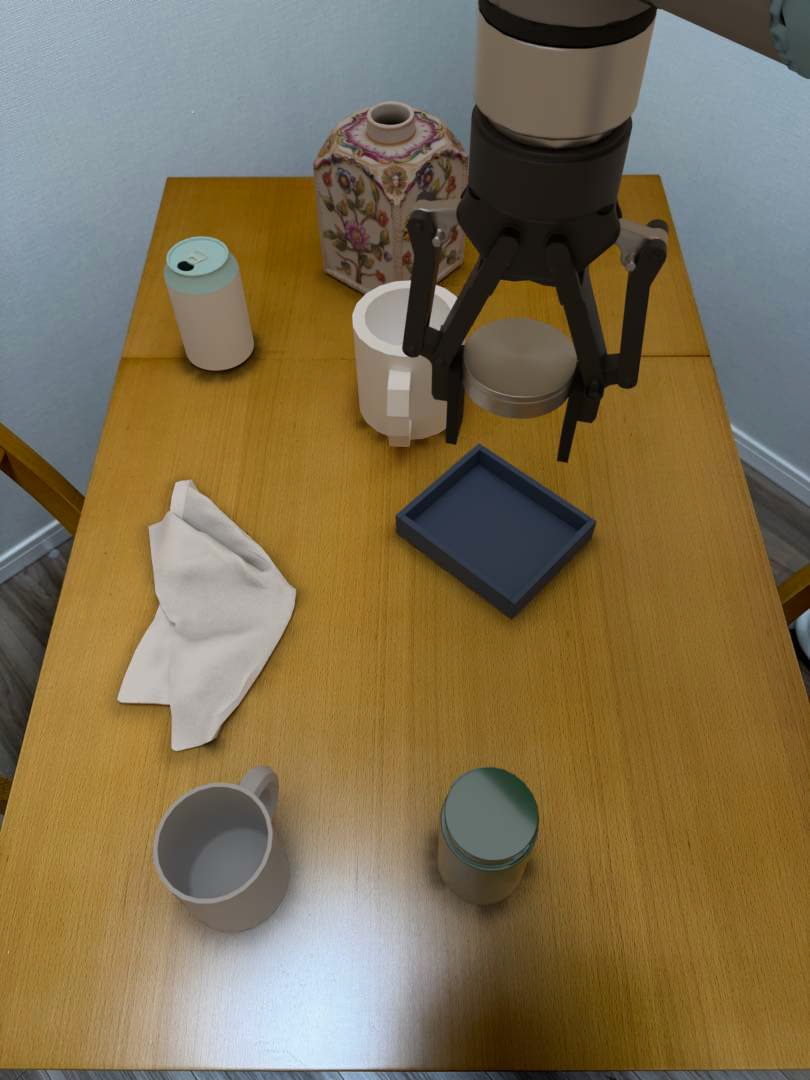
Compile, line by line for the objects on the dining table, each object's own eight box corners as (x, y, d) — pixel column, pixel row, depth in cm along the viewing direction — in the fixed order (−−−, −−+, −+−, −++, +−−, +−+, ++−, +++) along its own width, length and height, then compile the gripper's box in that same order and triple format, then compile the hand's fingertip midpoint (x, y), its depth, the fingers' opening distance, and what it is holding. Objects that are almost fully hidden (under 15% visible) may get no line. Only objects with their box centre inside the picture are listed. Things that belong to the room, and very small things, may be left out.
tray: (592, 538, 75) (597, 521, 73) (512, 620, 71) (514, 604, 68) (477, 461, 80) (478, 442, 78) (395, 532, 76) (395, 515, 74)
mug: (458, 469, 80) (463, 387, 71) (349, 464, 80) (341, 382, 72) (463, 367, 88) (468, 282, 79) (363, 363, 88) (358, 278, 79)
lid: (518, 324, 57) (521, 301, 55) (597, 381, 54) (602, 359, 52) (438, 374, 54) (438, 351, 53) (516, 437, 51) (519, 415, 49)
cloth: (283, 751, 64) (279, 739, 62) (101, 752, 64) (91, 740, 63) (306, 481, 79) (303, 465, 77) (158, 482, 79) (152, 467, 78)
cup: (165, 908, 58) (129, 874, 51) (236, 775, 63) (213, 727, 56) (260, 952, 56) (236, 924, 49) (325, 811, 62) (312, 767, 54)
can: (250, 375, 87) (229, 279, 78) (182, 375, 88) (152, 278, 78) (258, 328, 91) (239, 231, 82) (193, 328, 92) (166, 231, 82)
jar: (541, 857, 60) (562, 809, 51) (486, 925, 57) (498, 887, 49) (475, 799, 62) (484, 744, 54) (419, 862, 60) (420, 815, 51)
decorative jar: (466, 264, 97) (475, 108, 82) (399, 317, 92) (396, 160, 77) (387, 224, 102) (382, 68, 87) (319, 272, 97) (302, 116, 82)
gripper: (772, 87, 40) (659, 421, 59) (365, 46, 43) (381, 378, 62) (775, 176, 36) (652, 505, 55) (325, 125, 39) (354, 455, 58)
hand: (509, 437), depth 58 cm, fingers closed on lid, 7 cm apart
